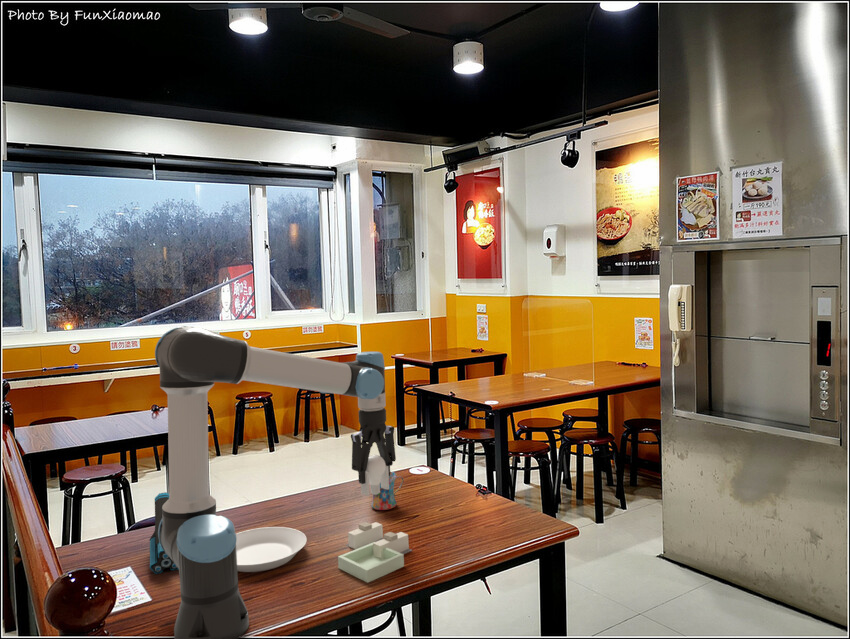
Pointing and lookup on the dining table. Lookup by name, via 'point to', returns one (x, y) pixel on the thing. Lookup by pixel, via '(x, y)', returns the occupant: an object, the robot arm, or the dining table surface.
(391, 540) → the holder
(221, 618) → the robot arm
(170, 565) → the gun
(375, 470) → the lightbulb
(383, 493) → the mug
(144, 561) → the dining table surface
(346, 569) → the tray
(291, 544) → the bowl
